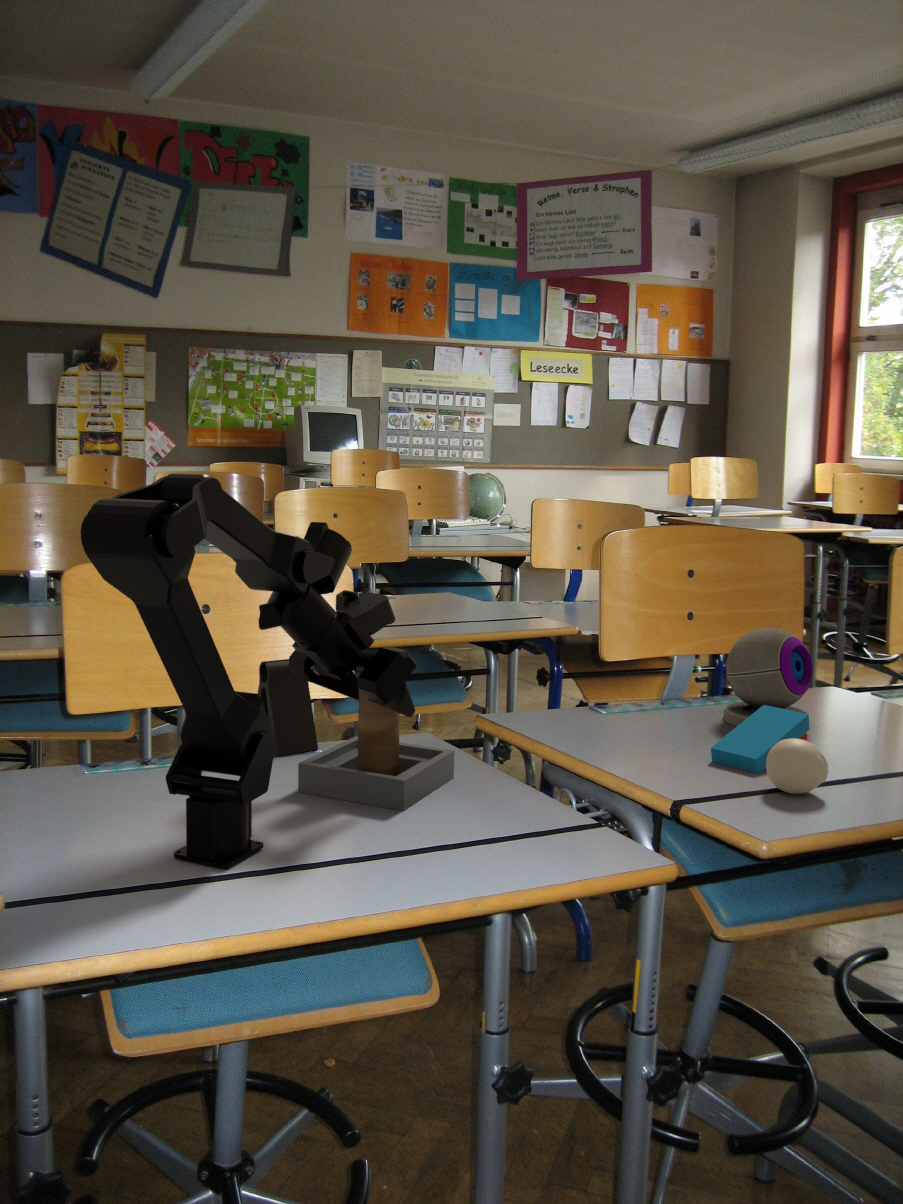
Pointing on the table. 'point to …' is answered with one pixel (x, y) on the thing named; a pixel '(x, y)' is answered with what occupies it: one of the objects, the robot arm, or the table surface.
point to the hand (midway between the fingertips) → (388, 706)
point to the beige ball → (796, 766)
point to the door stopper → (287, 708)
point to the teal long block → (759, 737)
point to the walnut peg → (377, 738)
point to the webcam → (767, 672)
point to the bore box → (376, 775)
